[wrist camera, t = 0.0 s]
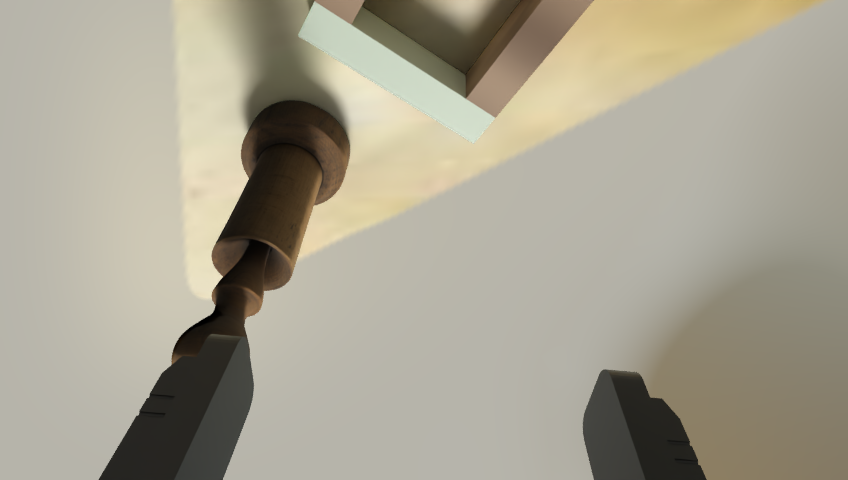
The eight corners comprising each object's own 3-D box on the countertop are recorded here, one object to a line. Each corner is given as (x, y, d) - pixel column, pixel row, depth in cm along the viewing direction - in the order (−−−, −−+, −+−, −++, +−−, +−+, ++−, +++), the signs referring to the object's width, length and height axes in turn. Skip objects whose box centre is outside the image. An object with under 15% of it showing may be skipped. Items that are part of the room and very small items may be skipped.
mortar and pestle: (358, 185, 36) (299, 428, 23) (268, 190, 37) (158, 429, 23) (338, 95, 32) (250, 331, 18) (236, 103, 32) (79, 336, 19)
